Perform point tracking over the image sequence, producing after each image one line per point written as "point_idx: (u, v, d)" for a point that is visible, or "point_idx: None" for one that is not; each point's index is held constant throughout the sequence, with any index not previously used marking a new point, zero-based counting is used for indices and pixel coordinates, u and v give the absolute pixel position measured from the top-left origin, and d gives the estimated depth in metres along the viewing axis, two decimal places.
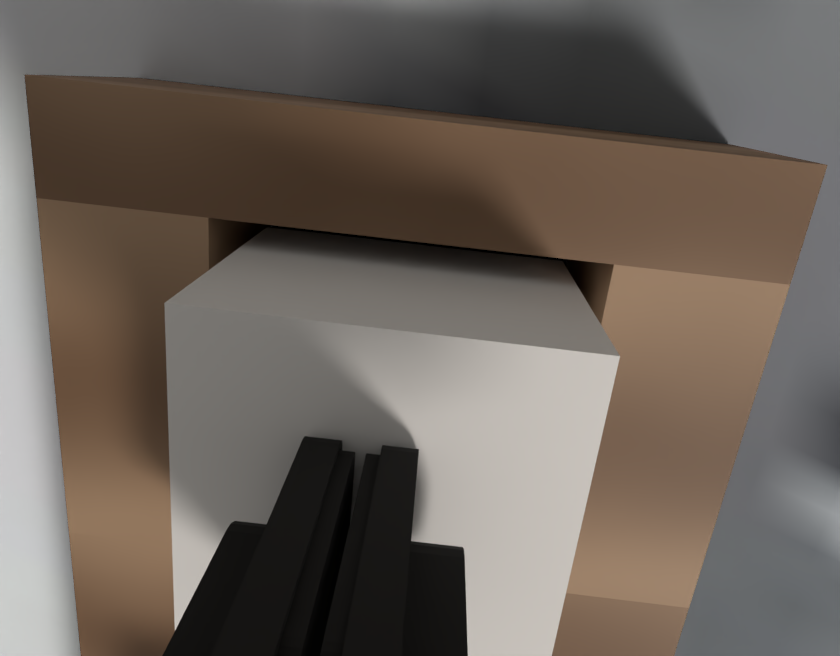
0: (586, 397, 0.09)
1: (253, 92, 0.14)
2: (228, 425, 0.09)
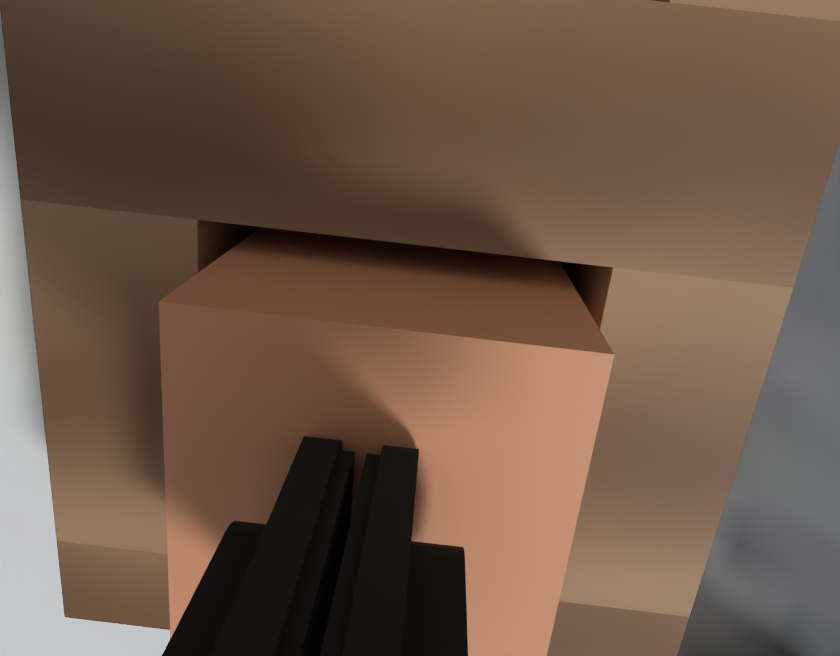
0: None
1: None
2: None
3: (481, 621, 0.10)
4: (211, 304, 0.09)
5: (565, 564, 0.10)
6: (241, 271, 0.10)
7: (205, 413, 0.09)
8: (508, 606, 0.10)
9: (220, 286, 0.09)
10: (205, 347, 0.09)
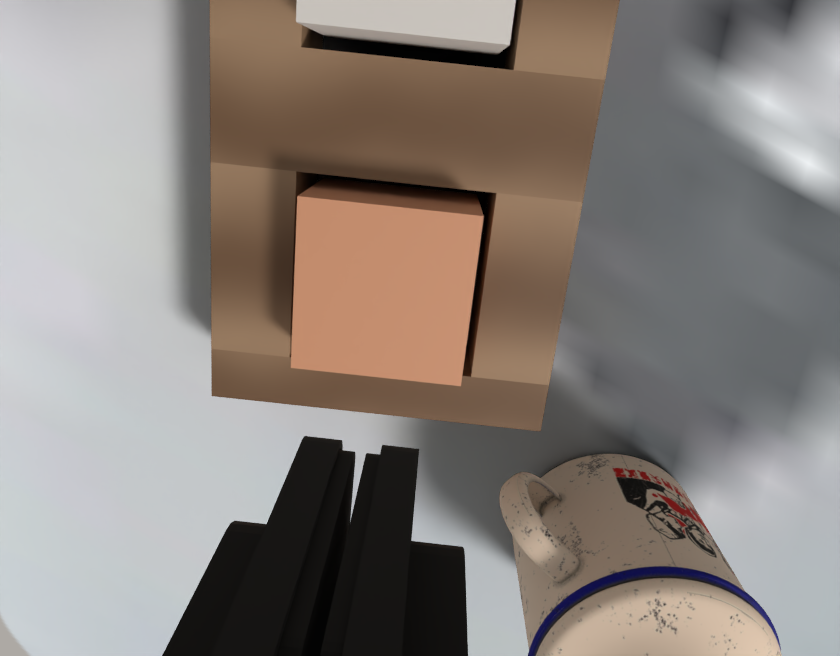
0: None
1: None
2: None
3: (433, 346, 0.23)
4: (318, 198, 0.21)
5: None
6: (324, 190, 0.23)
7: (313, 246, 0.22)
8: (445, 338, 0.23)
9: (318, 193, 0.22)
10: (315, 216, 0.21)
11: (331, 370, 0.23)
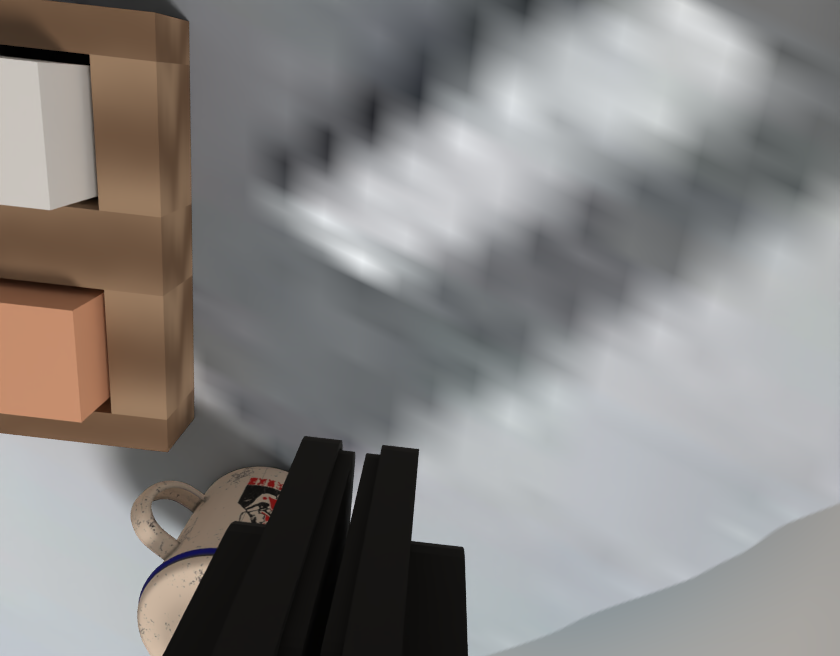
0: (31, 78, 0.27)
1: None
2: None
3: (57, 396, 0.33)
4: None
5: (78, 375, 0.33)
6: None
7: None
8: (64, 390, 0.33)
9: None
10: None
11: None
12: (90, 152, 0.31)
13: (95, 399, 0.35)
